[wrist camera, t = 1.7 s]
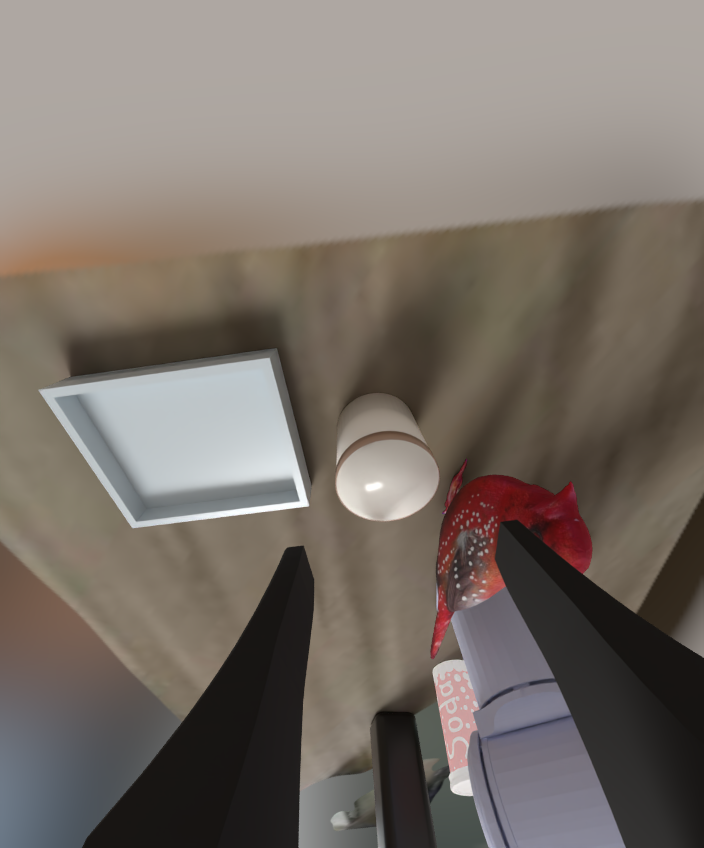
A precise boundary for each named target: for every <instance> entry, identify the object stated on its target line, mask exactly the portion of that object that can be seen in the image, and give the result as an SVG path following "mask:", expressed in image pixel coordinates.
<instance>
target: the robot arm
mask: <svg viewBox="0 0 704 848" xmlns="http://www.w3.org/2000/svg"><path fill="white" fill-rule="evenodd" d="M495 561H496V564H497V566H498V569H499V571H500V574H501V576H502V578H503V581H504V583H505V586H506V587H504V588H503V589H501V590H500V591H499V592H497V593H496V594H494V595H493V596H492V597H490V598H489V599H487V600H485V601H483V602H481V603H480V604H478V605H476V606H473V607H470V608H467V609H464V610H460V611H455V612H454V614H453V616H452V618H451V621H452V624H453V628H454V631H455V634H456V637H457V640H458V644H459V647H460V650H461V653H462V656H463V659H464V663H465V666H466V669H467V672H468V675H469V679H470V682H471V685H472V688H473V691H474V694H475V698H476V701H477V704H478V707H479V710H477V711H474V712H473V716H474V719H475V723H476V726H477V729H478V730H476V731H473V732H472V733H471V735H470V741H469V747H468V752H467V761H468V771H469V777H470V783H471V788H472V792H473V796H474V800H475V804H476V808H477V812H478V815H479V819H480V822H481V825H482V828H483V831H484V835H485V838H486V841H487V843H488V846H489V848H704V658H703V657H702V656H700V655H698V654H697V653H695V652H693V651H692V650H690V649H688V648H687V647H685V646H684V645H682V644H680V643H679V642H677V641H676V640H674V639H673V638H671V637H669V636H668V635H666V634H665V633H663V632H662V631H660V630H659V629H657V628H656V627H655V626H653V625H652V624H650V623H649V622H647V621H646V620H644V619H643V618H641V617H640V616H638V615H637V614H635V613H634V612H633V611H631V610H630V609H628V608H627V607H625V606H624V605H623V604H621V603H620V602H619V601H617V600H616V599H615V598H613V597H612V596H610V595H609V594H608V593H606V592H605V591H604V590H602V589H601V588H600V587H598V586H597V585H596V584H595V583H593V582H592V581H591V580H589V579H588V578H587V577H586V576H584V575H583V574H582V573H581V572H579V571H578V570H577V569H576V568H574V567H573V566H572V565H571V564H569V563H568V562H567V561H566V560H564V559H563V558H562V557H561V556H560V555H558V554H557V553H556V552H555V551H554V550H552V549H551V548H550V547H549V546H548V545H547V544H545V543H544V542H543V541H542V540H541V539H539V538H538V537H537V536H536V535H535V534H534V533H532V532H531V531H530V530H529V529H528V528H527V527H526V526H524V525H523V524H522V523H521V522H520V521H518V520H510V521H502V522H500V526H499V533H498V540H497V546H496V553H495ZM436 608H437V610H438V589H437V596H436ZM313 611H314V578H313V575H312V571H311V568H310V565H309V562H308V558H307V555H306V552H305V549H304V546H296V547H288V548H287V549H286V550H285V551H284V554H283V556H282V558H281V561H280V563H279V565H278V567H277V569H276V571H275V573H274V576H273V578H272V580H271V582H270V584H269V586H268V588H267V590H266V592H265V593H264V595H263V597H262V599H261V601H260V603H259V605H258V607H257V609H256V611H255V612H254V614H253V616H252V618H251V619H250V621H249V623H248V625H247V626H246V628H245V630H244V631H243V633H242V635H241V637H240V638H239V640H238V642H237V643H236V645H235V647H234V648H233V650H232V651H231V653H230V655H229V656H228V658H227V659H226V661H225V662H224V664H223V665H222V667H221V668H220V670H219V671H218V673H217V674H216V676H215V677H214V679H213V680H212V682H211V683H210V685H209V686H208V687H207V689H206V690H205V692H204V693H203V694H202V696H201V697H200V699H199V700H198V702H197V703H196V704H195V706H194V707H193V708H192V710H191V711H190V713H189V714H188V715H187V717H186V718H185V719H184V721H183V722H182V723H181V725H180V726H179V727H178V728H177V730H176V731H175V732H174V734H173V735H172V736H171V737H170V739H169V740H168V741H167V742H166V744H165V745H164V746H163V748H162V749H161V750H160V751H159V753H158V754H157V755H156V756H155V758H154V759H153V760H152V761H151V763H150V764H149V765H148V766H147V768H146V769H145V770H144V771H143V773H142V774H141V775H140V776H139V777H138V779H137V780H136V781H135V782H134V783H133V784H132V786H131V787H130V788H129V789H128V790H127V791H126V793H125V794H124V795H123V796H122V797H121V798H120V800H119V801H118V802H117V803H116V804H115V806H114V807H113V808H112V809H111V810H110V811H109V812H108V814H107V815H106V816H105V817H104V818H103V820H102V821H101V822H100V823H99V824H98V825H97V826H96V828H95V829H94V830H93V831H92V832H91V834H90V835H89V836H88V837H87V839H86V841H85V843H84V845H83V847H82V848H298V836H299V833H298V832H299V795H300V763H301V736H302V715H303V698H304V686H305V678H306V670H307V661H308V653H309V645H310V637H311V629H312V620H313Z"/></svg>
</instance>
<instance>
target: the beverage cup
mask: <svg viewBox="0 0 704 848" xmlns="http://www.w3.org/2000/svg"><path fill="white" fill-rule="evenodd" d="M433 677H434V683H435V688H436V694H437V700H438V705H439V711H440V717H441V722H442V728H443V733H444V739H445V745H446V750H447V756H448V762H449V767H450V775H449V779H450V782H451V783H450V787H451V790H452V792H453V793H455V794H459V795H464V796H473V792H472V788H471V783H470V777H469V771H468V761H467V752H468V747H469V741H470V735H471V733H472V732H473V731H476V730H478V729H477V726H476V723H475V719H474V716H473V712H474V711H477V710H479V707H478V704H477V701H476V698H475V694H474V691H473V688H472V685H471V682H470V679H469V675H468V672H467V669H466V666H465V663H464V660H449V661H444V662H442V663H440V664H438V665H437V666H435V667H434V669H433Z"/></svg>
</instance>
